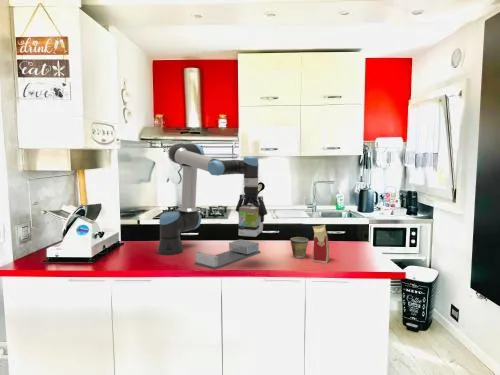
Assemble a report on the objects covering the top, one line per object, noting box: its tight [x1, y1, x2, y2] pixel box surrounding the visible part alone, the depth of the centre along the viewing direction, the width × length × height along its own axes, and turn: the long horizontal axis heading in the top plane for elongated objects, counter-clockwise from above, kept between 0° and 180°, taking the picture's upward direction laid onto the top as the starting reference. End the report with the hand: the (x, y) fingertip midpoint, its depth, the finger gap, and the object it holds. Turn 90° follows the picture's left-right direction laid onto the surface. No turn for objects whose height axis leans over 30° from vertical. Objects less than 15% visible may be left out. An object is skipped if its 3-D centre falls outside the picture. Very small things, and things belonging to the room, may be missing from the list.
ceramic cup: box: [290, 236, 309, 259], centre depth 201 cm, size 13×10×10 cm
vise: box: [194, 250, 261, 270], centre depth 197 cm, size 15×38×6 cm, turn 141°
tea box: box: [238, 203, 264, 238], centre depth 185 cm, size 15×10×15 cm, turn 166°
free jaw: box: [228, 239, 260, 254], centre depth 207 cm, size 14×10×4 cm
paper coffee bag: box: [311, 224, 330, 264], centre depth 192 cm, size 9×9×20 cm
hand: (250, 226), depth 186 cm, fingers closed on tea box, 12 cm apart
